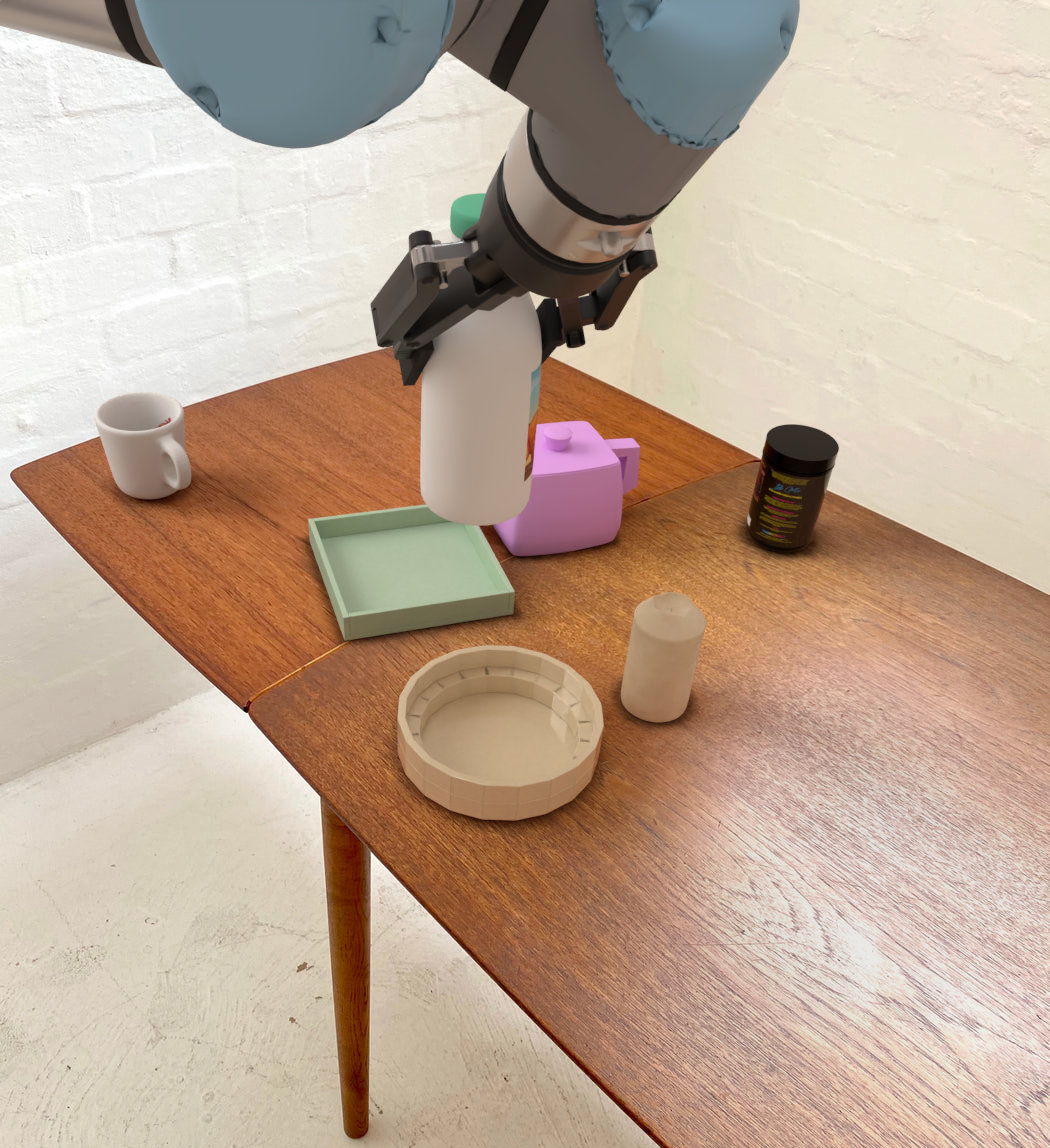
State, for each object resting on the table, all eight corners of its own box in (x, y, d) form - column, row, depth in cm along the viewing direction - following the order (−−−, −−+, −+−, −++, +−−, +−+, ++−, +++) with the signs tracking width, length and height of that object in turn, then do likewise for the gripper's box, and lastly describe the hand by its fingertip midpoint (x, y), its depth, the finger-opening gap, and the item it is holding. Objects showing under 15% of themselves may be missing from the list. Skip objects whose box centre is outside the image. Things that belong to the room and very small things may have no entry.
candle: (670, 732, 88) (692, 634, 81) (608, 706, 89) (624, 608, 83) (697, 693, 91) (720, 596, 84) (637, 669, 93) (655, 572, 86)
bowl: (428, 843, 78) (429, 804, 75) (377, 701, 88) (376, 662, 85) (627, 800, 82) (635, 762, 79) (556, 669, 92) (560, 632, 90)
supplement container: (816, 558, 107) (845, 463, 100) (747, 553, 107) (771, 457, 100) (806, 520, 112) (832, 427, 105) (739, 514, 112) (761, 421, 105)
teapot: (474, 570, 102) (479, 473, 95) (440, 509, 109) (442, 414, 102) (651, 542, 107) (667, 448, 100) (607, 485, 114) (620, 394, 107)
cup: (228, 500, 107) (218, 426, 102) (156, 531, 103) (142, 454, 97) (164, 456, 112) (152, 383, 107) (93, 483, 108) (76, 408, 102)
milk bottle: (507, 540, 74) (531, 237, 61) (402, 512, 76) (402, 211, 63) (544, 485, 80) (572, 196, 67) (444, 460, 82) (453, 173, 68)
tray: (344, 641, 93) (343, 617, 91) (309, 541, 103) (307, 518, 102) (513, 614, 97) (515, 591, 96) (463, 521, 108) (464, 499, 106)
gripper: (377, 282, 50) (323, 430, 72) (779, 259, 56) (616, 402, 77) (348, 118, 50) (303, 315, 72) (753, 112, 56) (597, 296, 77)
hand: (466, 360), depth 75 cm, fingers closed on milk bottle, 8 cm apart
